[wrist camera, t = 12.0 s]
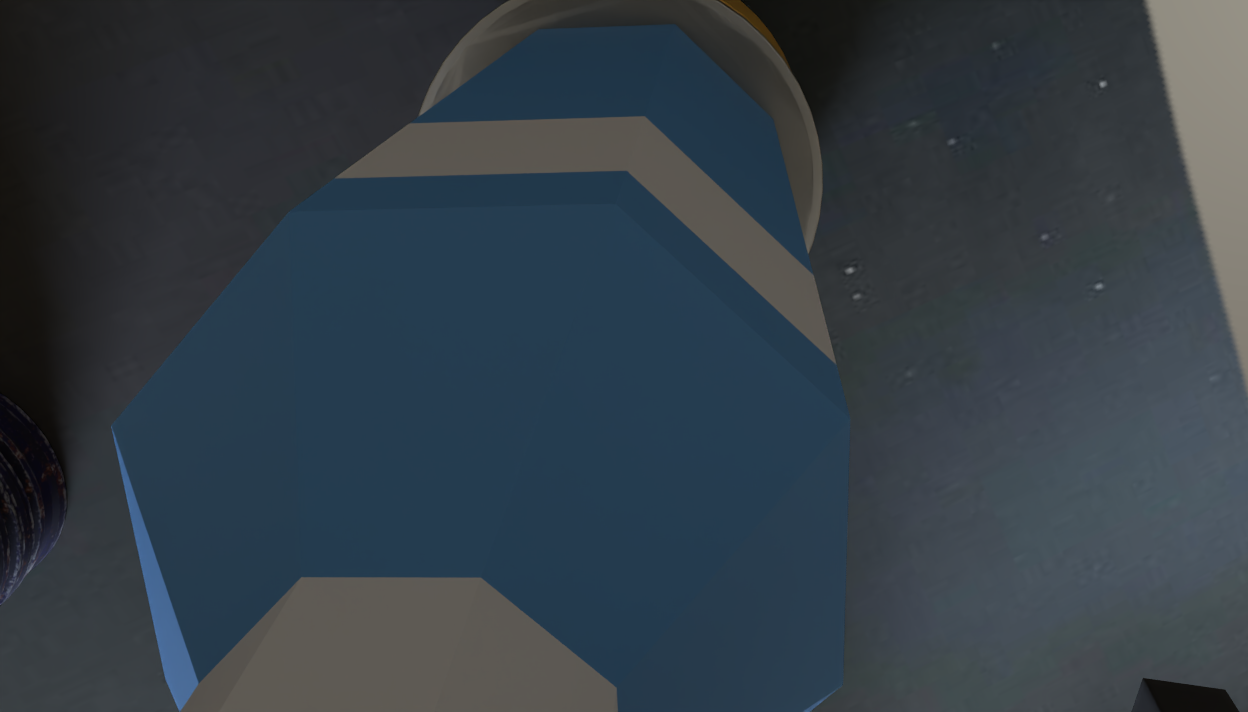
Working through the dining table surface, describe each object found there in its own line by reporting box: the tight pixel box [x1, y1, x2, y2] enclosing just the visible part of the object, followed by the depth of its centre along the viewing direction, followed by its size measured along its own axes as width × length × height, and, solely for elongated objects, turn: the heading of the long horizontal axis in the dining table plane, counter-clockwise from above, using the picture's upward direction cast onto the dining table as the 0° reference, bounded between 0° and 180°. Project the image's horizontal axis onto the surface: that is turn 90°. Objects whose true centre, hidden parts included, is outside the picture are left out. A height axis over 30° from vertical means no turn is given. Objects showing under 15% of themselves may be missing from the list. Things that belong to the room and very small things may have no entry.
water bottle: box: [111, 24, 850, 712], centre depth 21 cm, size 9×9×25 cm
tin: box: [418, 0, 823, 254], centre depth 37 cm, size 11×11×9 cm
